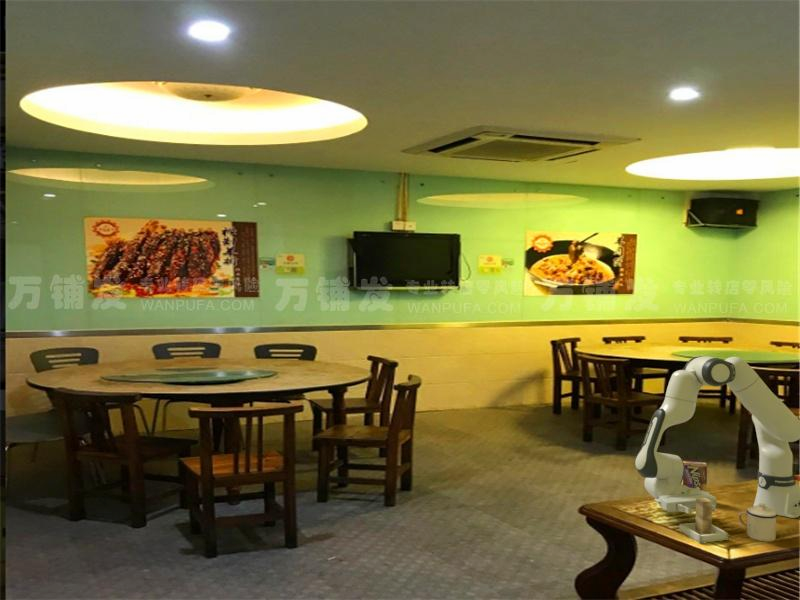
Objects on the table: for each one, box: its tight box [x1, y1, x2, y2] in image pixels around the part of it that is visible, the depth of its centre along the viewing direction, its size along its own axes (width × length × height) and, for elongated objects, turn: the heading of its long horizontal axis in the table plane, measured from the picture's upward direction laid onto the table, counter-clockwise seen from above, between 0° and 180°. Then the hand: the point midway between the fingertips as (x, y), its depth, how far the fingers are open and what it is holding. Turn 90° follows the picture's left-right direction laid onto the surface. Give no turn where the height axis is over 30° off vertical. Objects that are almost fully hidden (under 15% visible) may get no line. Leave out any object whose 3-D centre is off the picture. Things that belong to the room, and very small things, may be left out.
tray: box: [678, 521, 729, 544], centre depth 231 cm, size 11×11×2 cm
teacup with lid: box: [738, 503, 778, 542], centre depth 231 cm, size 12×9×12 cm
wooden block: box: [695, 498, 713, 535], centre depth 231 cm, size 4×4×12 cm
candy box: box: [681, 460, 708, 493], centre depth 265 cm, size 9×4×15 cm, turn 72°
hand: (701, 510), depth 232 cm, fingers open, 8 cm apart
